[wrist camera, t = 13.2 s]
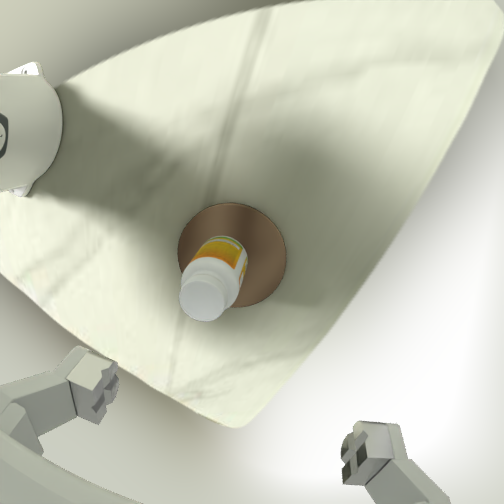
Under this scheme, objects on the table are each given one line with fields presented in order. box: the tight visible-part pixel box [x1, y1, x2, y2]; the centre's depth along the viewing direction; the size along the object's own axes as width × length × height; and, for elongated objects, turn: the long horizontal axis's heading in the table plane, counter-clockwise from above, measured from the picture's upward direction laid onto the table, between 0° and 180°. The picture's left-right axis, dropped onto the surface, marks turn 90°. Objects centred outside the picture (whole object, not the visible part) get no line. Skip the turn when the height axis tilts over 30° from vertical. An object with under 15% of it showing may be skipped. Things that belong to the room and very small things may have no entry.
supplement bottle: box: [179, 236, 248, 322], centre depth 31 cm, size 5×5×10 cm
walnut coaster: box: [178, 203, 286, 307], centre depth 36 cm, size 12×12×1 cm
